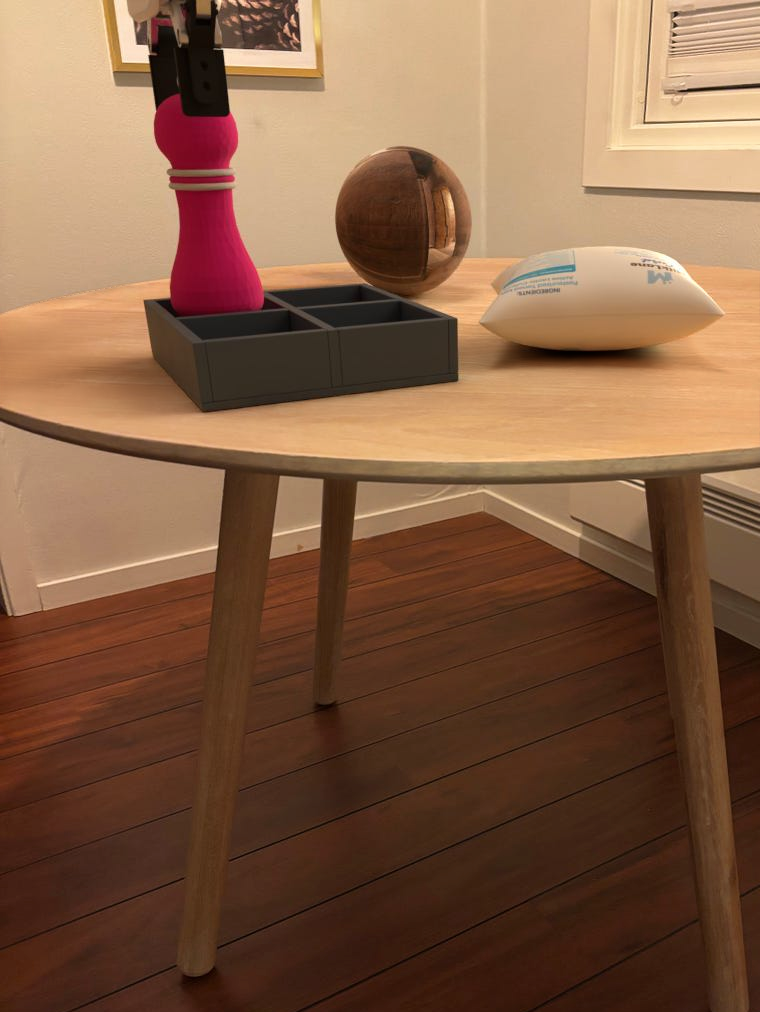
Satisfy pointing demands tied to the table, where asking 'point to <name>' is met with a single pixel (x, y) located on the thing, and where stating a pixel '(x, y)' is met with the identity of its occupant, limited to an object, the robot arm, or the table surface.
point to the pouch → (597, 300)
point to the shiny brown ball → (403, 220)
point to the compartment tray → (304, 346)
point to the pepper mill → (205, 215)
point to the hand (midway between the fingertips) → (191, 116)
